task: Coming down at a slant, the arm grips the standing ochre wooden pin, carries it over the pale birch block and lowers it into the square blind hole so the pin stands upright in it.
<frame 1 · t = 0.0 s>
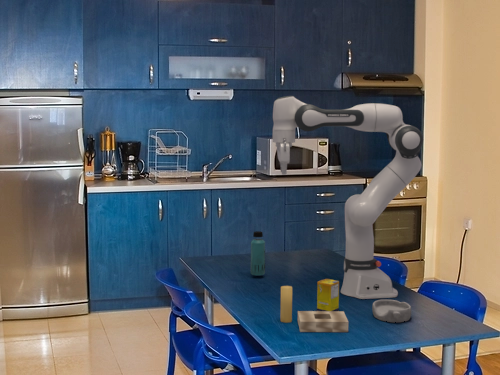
hand: (283, 173, 282), 48 cm above the table, tool pointing down, fingers open, 8 cm apart
supplement box: (327, 310, 264), on the table
hole block: (322, 326, 245), on the table
dish: (391, 318, 256), on the table
beverage bottle: (257, 277, 312), on the table
pin: (286, 320, 251), on the table
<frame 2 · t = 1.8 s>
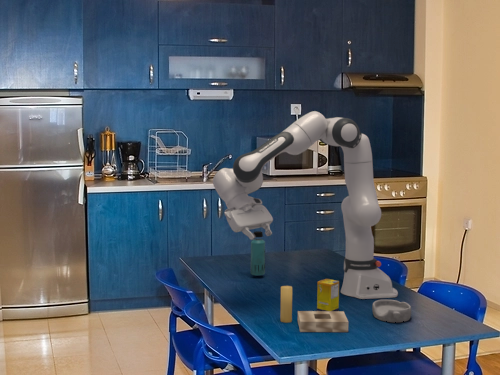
hand: (261, 236, 258), 28 cm above the table, tool tilted 45°, fingers open, 8 cm apart
nothing on the table moved.
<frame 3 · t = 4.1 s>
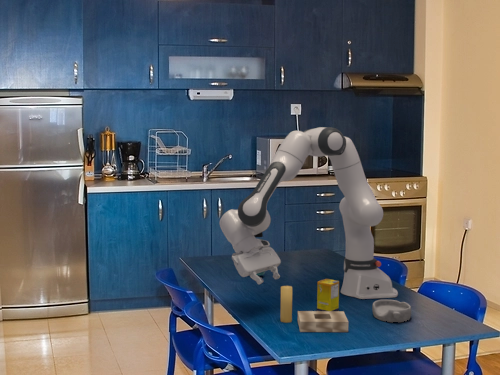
hand: (269, 280, 254), 13 cm above the table, tool tilted 45°, fingers open, 8 cm apart
nothing on the table moved.
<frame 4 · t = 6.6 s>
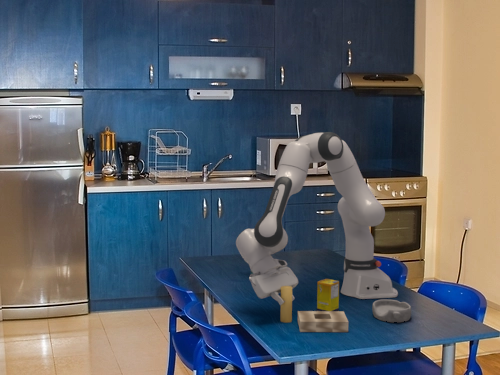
hand: (287, 301, 249), 7 cm above the table, tool tilted 45°, fingers closed on pin, 4 cm apart
pin: (286, 320, 251), on the table, touching gripper
everything else where it was.
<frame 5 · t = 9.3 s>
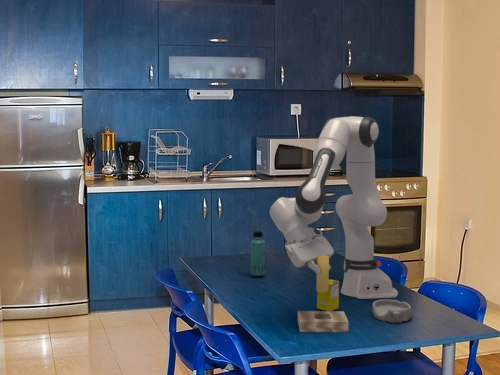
hand: (324, 271, 242), 19 cm above the table, tool tilted 45°, fingers closed on pin, 4 cm apart
pin: (322, 290, 243), point 12 cm above the table, touching gripper
everything else where it was.
when the fingers open (8 cm above the table, at t = 12.3 s): pin drops 1 cm, resting on hole block.
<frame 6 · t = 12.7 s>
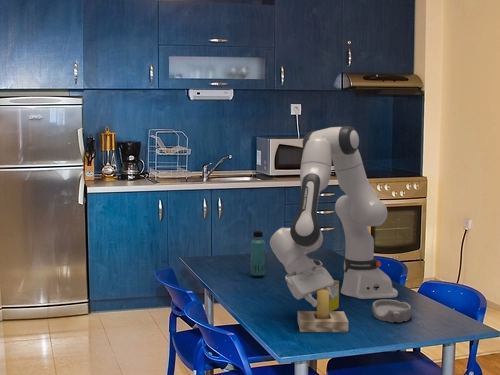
hand: (324, 302, 243), 8 cm above the table, tool tilted 45°, fingers open, 8 cm apart
pin: (322, 325, 245), resting on hole block
everything else where it was.
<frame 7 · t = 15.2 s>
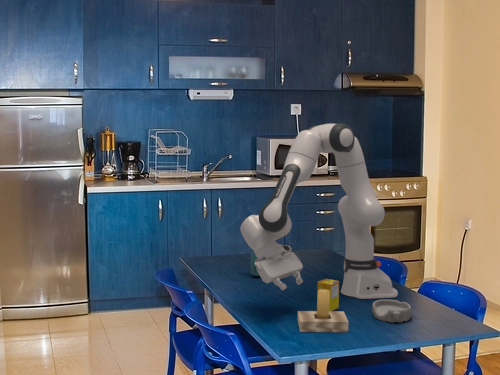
hand: (292, 286, 252), 12 cm above the table, tool tilted 45°, fingers open, 8 cm apart
nothing on the table moved.
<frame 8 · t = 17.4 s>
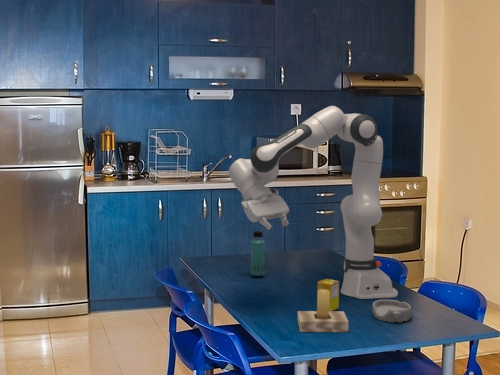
hand: (278, 226, 257), 31 cm above the table, tool tilted 45°, fingers open, 8 cm apart
nothing on the table moved.
at the end: pin 0.1 cm off-centre on the hole block, point 0.5 cm above the hole block's base; pin tilted 2°; the gripper is holding nothing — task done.
